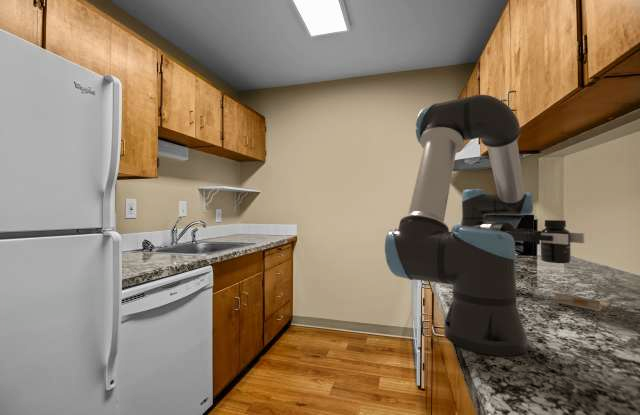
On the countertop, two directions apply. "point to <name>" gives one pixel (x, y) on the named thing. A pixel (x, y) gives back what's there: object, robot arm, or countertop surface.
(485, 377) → the countertop surface
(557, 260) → the supplement bottle
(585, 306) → the flat beige box
